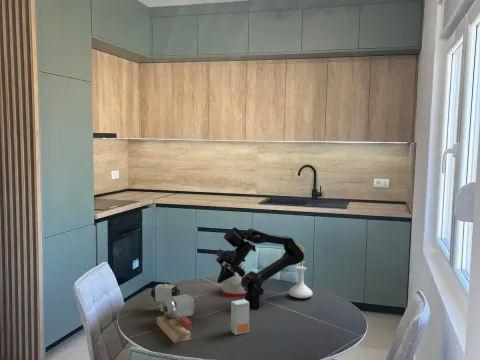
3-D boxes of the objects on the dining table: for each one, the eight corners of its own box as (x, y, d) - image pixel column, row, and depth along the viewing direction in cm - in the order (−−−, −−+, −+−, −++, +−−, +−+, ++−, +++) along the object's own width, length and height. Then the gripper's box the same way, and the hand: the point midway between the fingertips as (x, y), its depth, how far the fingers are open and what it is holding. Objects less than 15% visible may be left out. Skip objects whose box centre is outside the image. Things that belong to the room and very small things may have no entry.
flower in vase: (316, 295, 213) (317, 243, 212) (306, 301, 203) (307, 247, 202) (292, 290, 220) (293, 240, 219) (281, 296, 211) (281, 244, 209)
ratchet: (185, 310, 187) (185, 292, 186) (209, 331, 166) (209, 312, 165) (161, 315, 182) (161, 296, 181) (183, 337, 161) (183, 317, 160)
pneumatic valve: (176, 313, 190) (176, 286, 189) (151, 311, 193) (150, 284, 192) (181, 309, 196) (180, 282, 195) (156, 306, 198) (155, 280, 197)
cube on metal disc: (188, 309, 187) (188, 293, 187) (194, 314, 181) (194, 298, 181) (171, 312, 183) (170, 296, 183) (176, 318, 178) (176, 301, 177)
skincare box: (235, 335, 169) (235, 304, 168) (230, 331, 173) (230, 301, 172) (249, 332, 172) (249, 302, 171) (244, 328, 176) (244, 298, 175)
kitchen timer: (225, 287, 226) (225, 258, 224) (252, 288, 224) (252, 259, 222) (220, 296, 212) (220, 265, 211) (248, 297, 210) (248, 266, 209)
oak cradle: (173, 320, 183) (172, 308, 183) (191, 339, 166) (191, 325, 165) (156, 323, 180) (156, 311, 179) (174, 343, 162) (174, 329, 162)
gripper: (219, 238, 199) (196, 266, 195) (237, 246, 182) (213, 277, 178) (235, 253, 203) (214, 281, 199) (255, 262, 186) (232, 292, 182)
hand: (218, 282), depth 190 cm, fingers closed
